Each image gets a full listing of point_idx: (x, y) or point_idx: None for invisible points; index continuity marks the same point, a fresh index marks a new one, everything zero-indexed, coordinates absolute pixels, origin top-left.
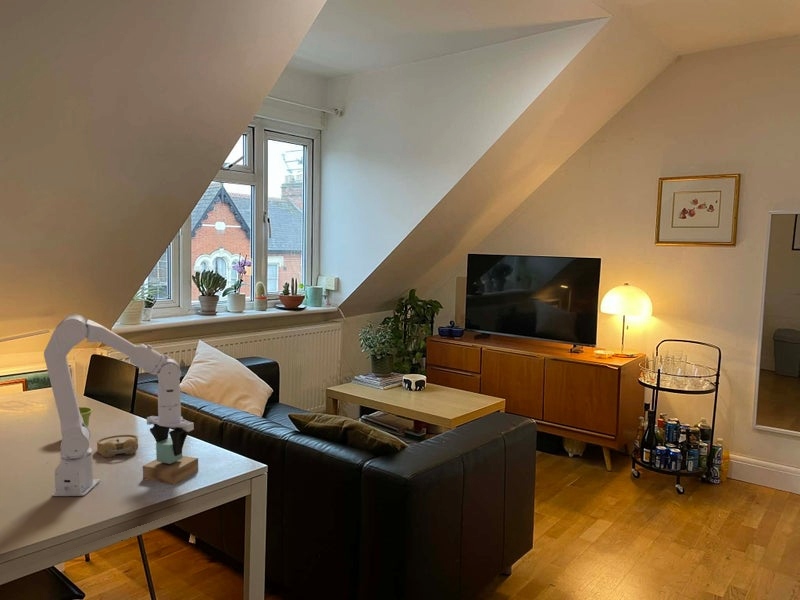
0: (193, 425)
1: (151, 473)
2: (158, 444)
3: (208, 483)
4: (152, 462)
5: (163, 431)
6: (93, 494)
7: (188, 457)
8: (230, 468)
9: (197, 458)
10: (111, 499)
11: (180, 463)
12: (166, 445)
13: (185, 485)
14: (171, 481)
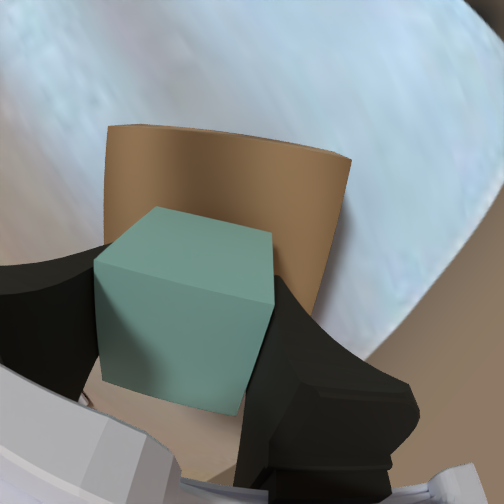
0: (484, 500)
1: None
2: (127, 383)
3: (424, 283)
4: None
5: (53, 369)
6: (97, 393)
7: (280, 158)
8: (462, 109)
9: (350, 165)
10: (164, 416)
11: (281, 267)
12: (204, 405)
13: (342, 318)
14: None
